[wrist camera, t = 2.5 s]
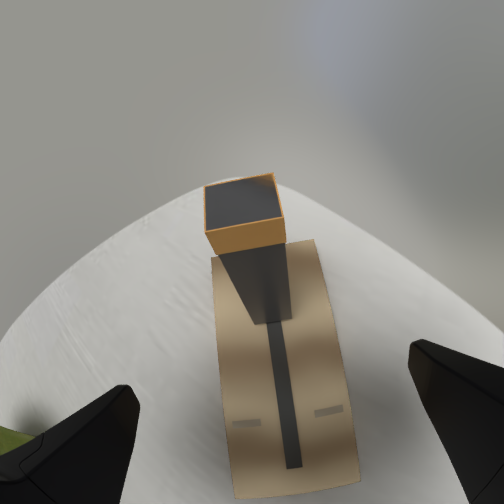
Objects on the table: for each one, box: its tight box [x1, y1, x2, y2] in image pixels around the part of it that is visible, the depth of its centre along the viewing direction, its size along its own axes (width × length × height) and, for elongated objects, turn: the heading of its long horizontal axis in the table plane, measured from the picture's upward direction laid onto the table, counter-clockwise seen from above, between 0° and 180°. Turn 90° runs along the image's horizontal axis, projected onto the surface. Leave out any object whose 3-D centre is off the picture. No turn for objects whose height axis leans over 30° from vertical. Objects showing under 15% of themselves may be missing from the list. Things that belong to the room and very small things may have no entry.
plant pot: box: [0, 426, 35, 455], centre depth 12 cm, size 9×9×9 cm
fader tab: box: [204, 173, 292, 325], centre depth 15 cm, size 2×3×11 cm
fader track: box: [211, 239, 361, 499], centre depth 18 cm, size 18×8×2 cm, turn 7°
